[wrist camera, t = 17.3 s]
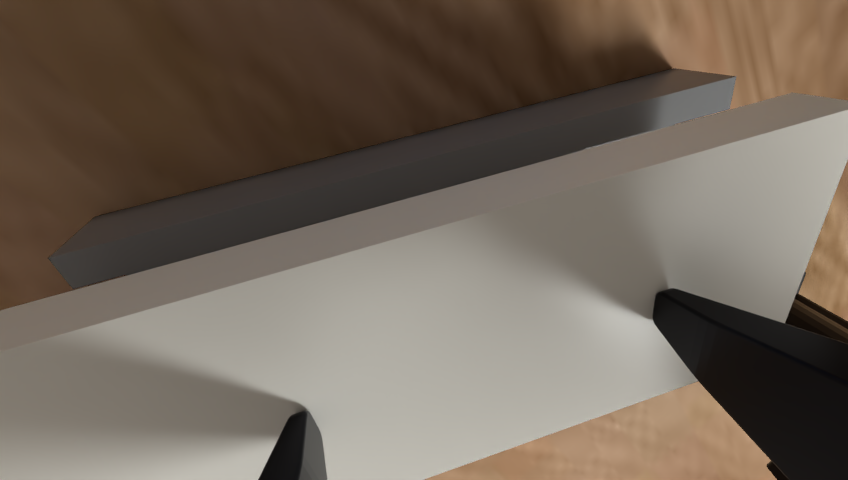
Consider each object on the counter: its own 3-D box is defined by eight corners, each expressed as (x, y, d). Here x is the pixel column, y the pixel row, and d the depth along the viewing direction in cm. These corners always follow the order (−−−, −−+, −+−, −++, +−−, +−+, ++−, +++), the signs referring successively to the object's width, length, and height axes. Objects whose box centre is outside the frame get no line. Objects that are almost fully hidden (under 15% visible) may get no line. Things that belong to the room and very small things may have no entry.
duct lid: (793, 92, 10) (869, 103, 9) (728, 321, 14) (773, 354, 13) (-153, 352, 8) (-256, 424, 6) (94, 539, 12) (65, 607, 10)
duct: (673, 68, 14) (816, 86, 10) (650, 244, 18) (747, 308, 14) (17, 236, 12) (-138, 348, 8) (152, 398, 16) (95, 529, 12)
